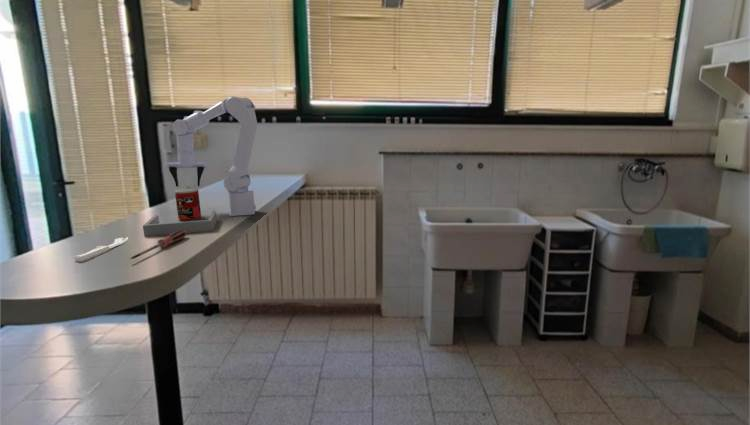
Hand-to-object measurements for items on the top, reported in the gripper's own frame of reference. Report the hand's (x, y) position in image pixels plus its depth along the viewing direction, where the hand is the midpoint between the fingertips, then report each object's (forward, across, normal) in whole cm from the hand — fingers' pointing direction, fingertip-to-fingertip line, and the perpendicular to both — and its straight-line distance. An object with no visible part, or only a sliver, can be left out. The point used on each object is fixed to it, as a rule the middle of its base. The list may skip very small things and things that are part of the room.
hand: (188, 186), depth 161 cm
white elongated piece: (+11, +21, +38) cm, 45 cm away
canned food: (+10, -1, +12) cm, 16 cm away
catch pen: (+10, +1, +26) cm, 27 cm away
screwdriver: (+10, +6, +50) cm, 51 cm away
